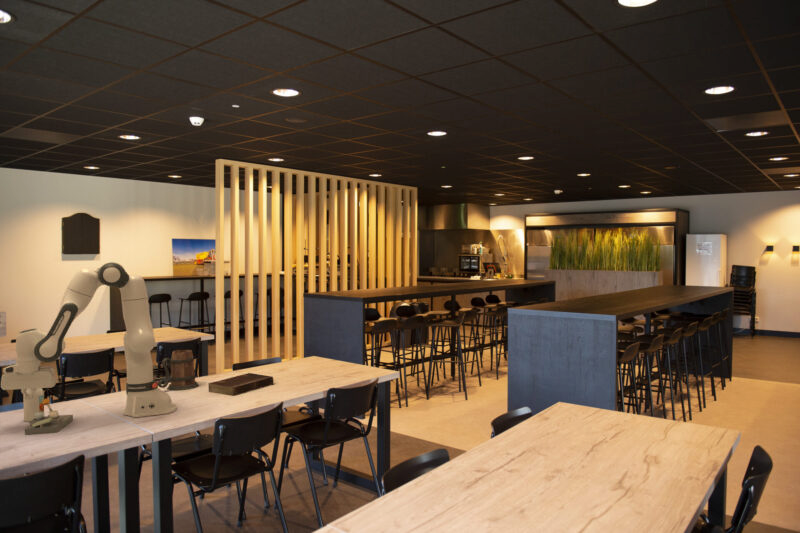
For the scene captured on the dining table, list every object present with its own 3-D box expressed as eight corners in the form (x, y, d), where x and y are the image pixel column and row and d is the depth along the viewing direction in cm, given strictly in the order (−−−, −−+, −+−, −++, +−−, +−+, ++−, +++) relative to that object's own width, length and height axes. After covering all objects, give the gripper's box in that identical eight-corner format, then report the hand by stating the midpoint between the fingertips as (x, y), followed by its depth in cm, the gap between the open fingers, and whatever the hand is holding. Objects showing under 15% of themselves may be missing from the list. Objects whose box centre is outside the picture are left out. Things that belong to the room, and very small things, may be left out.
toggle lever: (56, 410, 248) (48, 396, 247) (54, 411, 245) (46, 398, 244) (50, 413, 247) (43, 399, 247) (48, 414, 245) (40, 401, 244)
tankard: (186, 382, 325) (185, 347, 324) (205, 385, 316) (204, 349, 315) (149, 391, 305) (148, 354, 304) (169, 394, 296) (168, 356, 295)
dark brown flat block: (233, 396, 291) (233, 387, 290) (208, 392, 300) (208, 383, 300) (273, 384, 315) (273, 376, 315) (249, 381, 325) (249, 372, 325)
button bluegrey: (45, 417, 241) (44, 411, 241) (41, 419, 238) (41, 413, 238) (36, 417, 241) (36, 411, 240) (33, 419, 237) (33, 413, 237)
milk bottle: (34, 422, 250) (32, 377, 250) (19, 421, 252) (18, 376, 251) (48, 417, 258) (47, 373, 257) (34, 416, 259) (32, 373, 259)
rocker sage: (52, 419, 238) (51, 417, 238) (49, 421, 234) (48, 419, 234) (36, 424, 236) (35, 422, 236) (32, 427, 233) (32, 424, 233)
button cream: (59, 416, 242) (59, 410, 242) (56, 418, 239) (56, 412, 239) (51, 416, 242) (50, 410, 242) (47, 418, 238) (47, 412, 238)
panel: (73, 420, 252) (72, 410, 252) (56, 432, 235) (56, 421, 235) (43, 422, 250) (43, 412, 250) (24, 434, 232) (24, 423, 232)
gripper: (57, 364, 249) (58, 395, 249) (5, 366, 245) (6, 398, 245) (51, 367, 243) (52, 399, 243) (-2, 369, 239) (-1, 401, 239)
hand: (28, 398), depth 244 cm, fingers closed
